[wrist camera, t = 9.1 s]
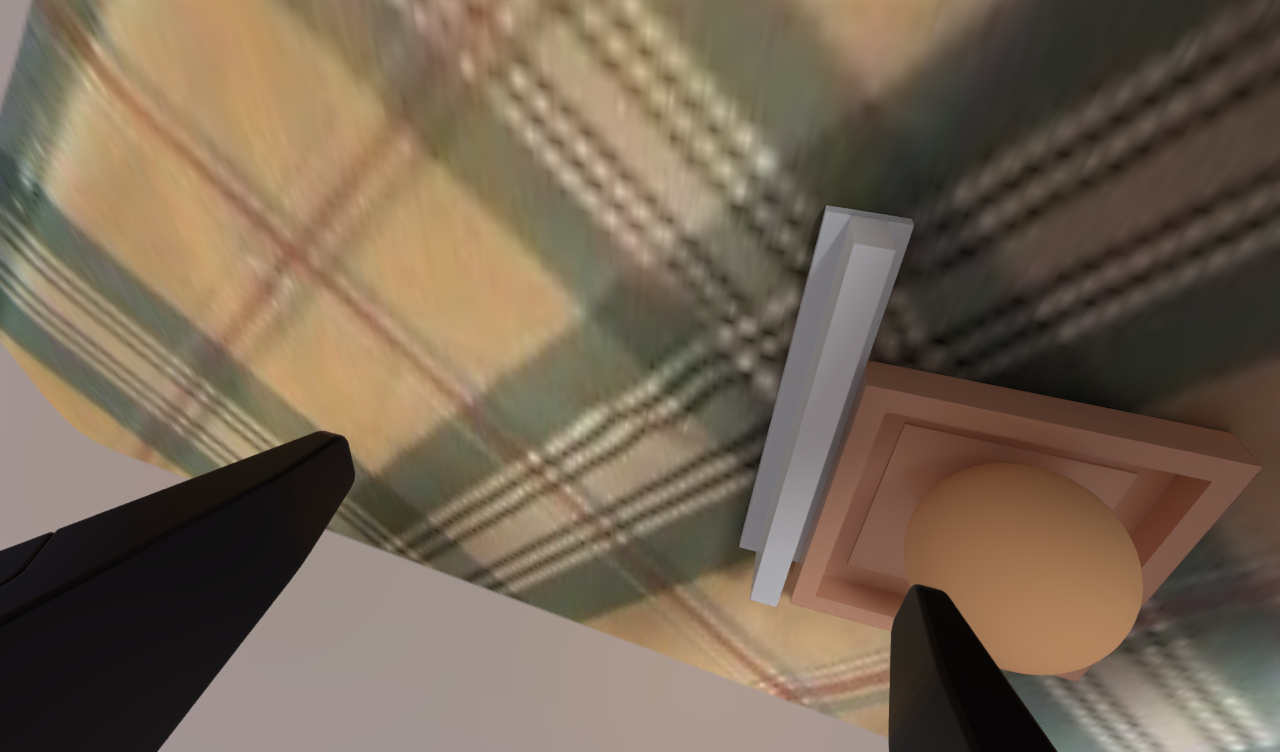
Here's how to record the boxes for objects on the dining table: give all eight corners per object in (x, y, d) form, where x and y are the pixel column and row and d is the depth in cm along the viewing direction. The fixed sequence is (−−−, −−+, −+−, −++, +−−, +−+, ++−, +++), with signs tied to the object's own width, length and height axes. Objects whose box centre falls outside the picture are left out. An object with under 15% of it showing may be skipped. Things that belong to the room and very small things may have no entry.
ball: (1096, 468, 20) (1234, 526, 14) (1047, 634, 21) (1159, 755, 15) (909, 427, 21) (966, 466, 15) (868, 587, 22) (908, 682, 16)
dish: (1231, 433, 18) (1263, 467, 17) (1063, 644, 24) (1077, 682, 22) (864, 359, 20) (866, 384, 18) (791, 572, 26) (789, 603, 24)
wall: (911, 218, 17) (925, 255, 15) (799, 551, 25) (795, 612, 22) (826, 205, 18) (825, 238, 15) (741, 536, 25) (731, 594, 23)
